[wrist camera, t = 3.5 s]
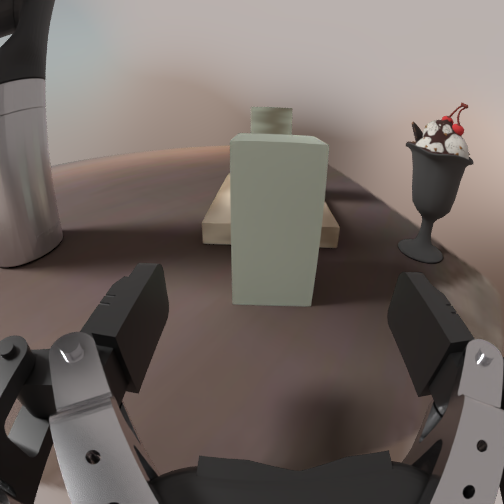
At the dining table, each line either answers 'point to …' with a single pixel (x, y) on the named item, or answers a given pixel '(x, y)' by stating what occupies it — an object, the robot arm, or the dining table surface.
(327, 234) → the board
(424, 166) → the sundae
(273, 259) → the green block
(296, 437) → the dining table surface
